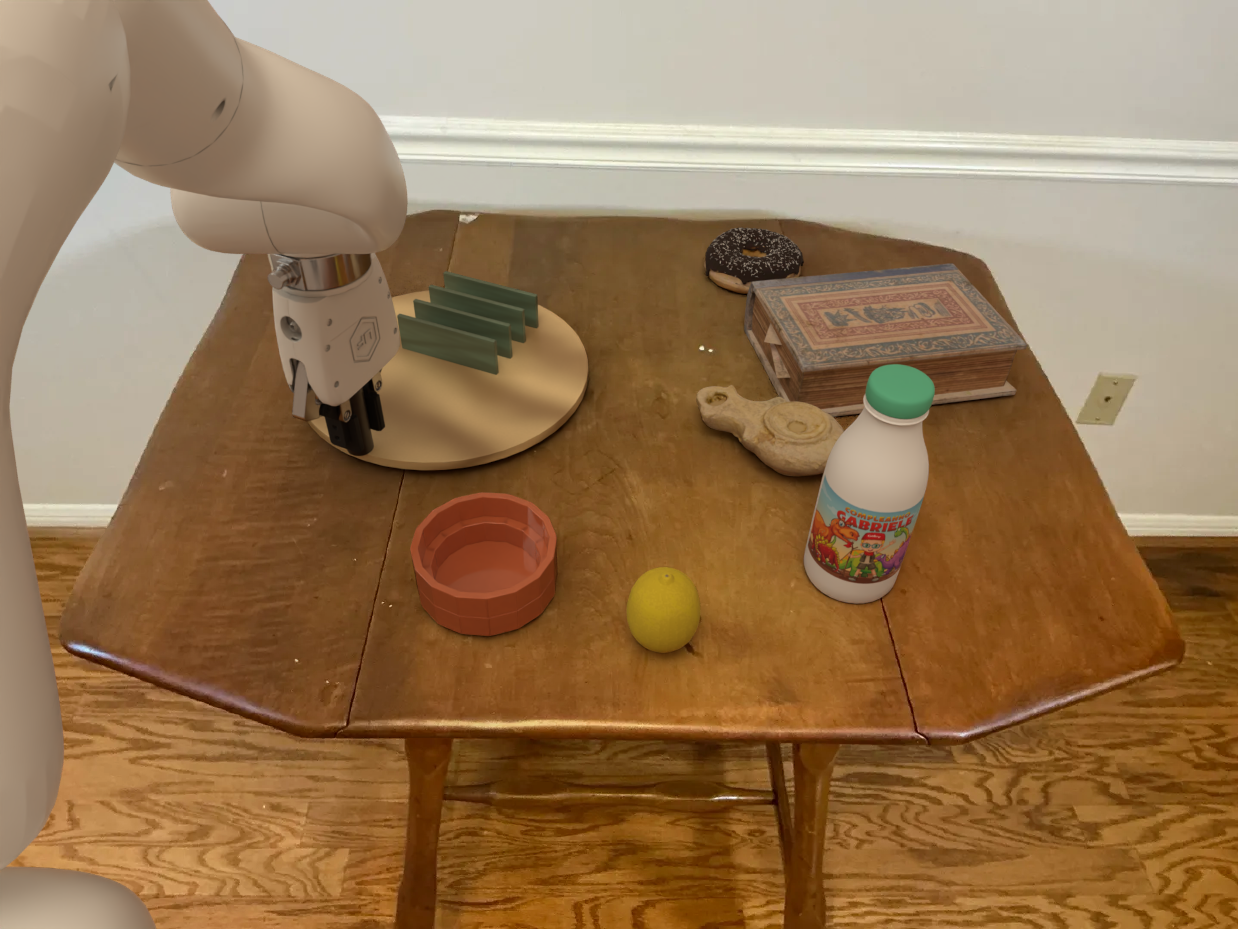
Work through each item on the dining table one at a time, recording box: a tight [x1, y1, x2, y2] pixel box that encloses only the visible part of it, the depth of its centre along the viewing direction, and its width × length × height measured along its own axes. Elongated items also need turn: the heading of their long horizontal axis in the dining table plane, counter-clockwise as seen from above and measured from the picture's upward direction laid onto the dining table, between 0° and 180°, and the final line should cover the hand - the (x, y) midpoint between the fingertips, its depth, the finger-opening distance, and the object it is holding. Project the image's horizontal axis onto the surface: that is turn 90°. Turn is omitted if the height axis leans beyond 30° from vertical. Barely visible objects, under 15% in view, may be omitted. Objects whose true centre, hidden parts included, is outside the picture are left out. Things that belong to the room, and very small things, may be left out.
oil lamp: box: [695, 384, 845, 477], centre depth 88 cm, size 11×14×5 cm
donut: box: [703, 227, 805, 295], centre depth 113 cm, size 11×12×4 cm
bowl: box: [409, 491, 559, 637], centre depth 76 cm, size 11×11×5 cm
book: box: [743, 262, 1028, 418], centre depth 99 cm, size 17×7×25 cm
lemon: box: [626, 566, 702, 654], centre depth 71 cm, size 6×6×8 cm
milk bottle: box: [803, 364, 935, 605], centre depth 73 cm, size 8×8×20 cm
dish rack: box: [307, 270, 589, 471], centre depth 93 cm, size 30×29×8 cm
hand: (358, 434), depth 85 cm, fingers closed on dish rack, 2 cm apart
